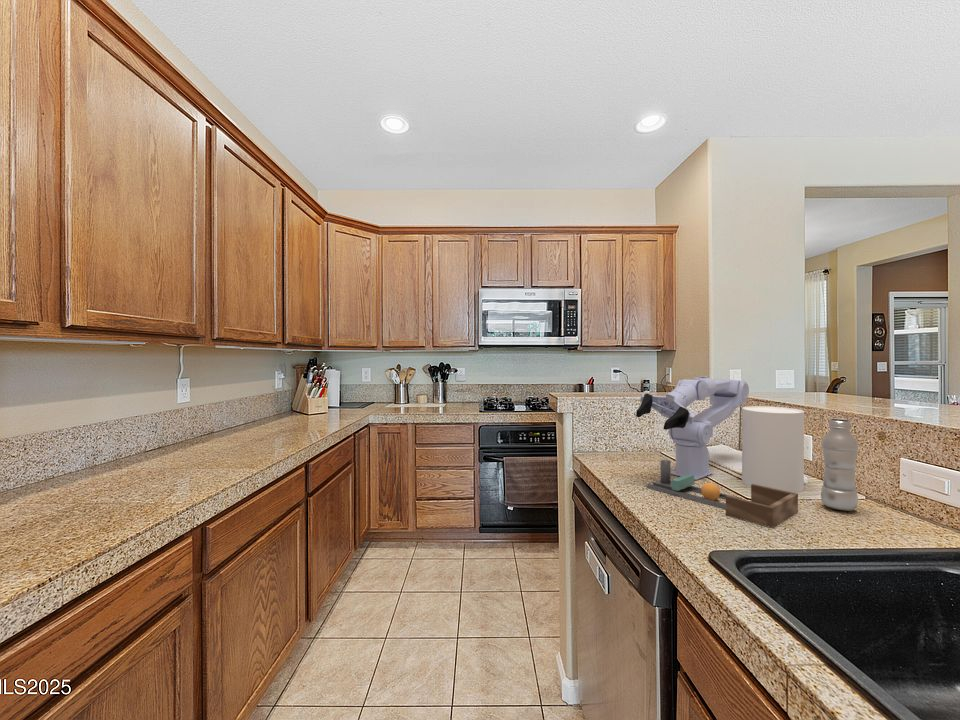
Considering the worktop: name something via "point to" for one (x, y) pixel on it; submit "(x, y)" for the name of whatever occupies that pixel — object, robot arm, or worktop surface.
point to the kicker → (675, 483)
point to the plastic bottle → (839, 467)
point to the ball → (710, 491)
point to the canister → (773, 447)
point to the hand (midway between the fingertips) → (651, 419)
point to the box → (763, 506)
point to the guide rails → (691, 497)
